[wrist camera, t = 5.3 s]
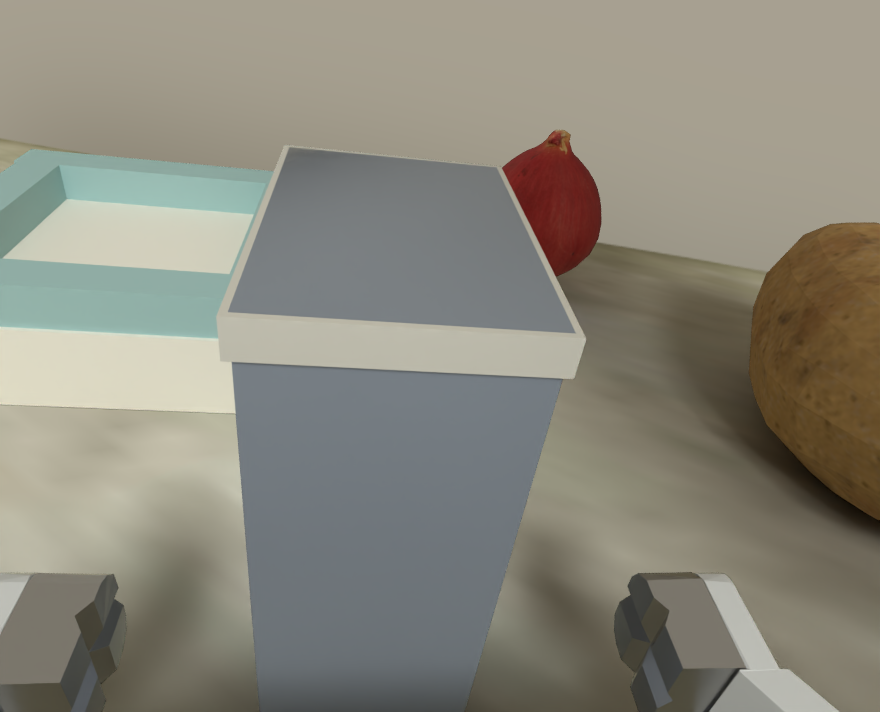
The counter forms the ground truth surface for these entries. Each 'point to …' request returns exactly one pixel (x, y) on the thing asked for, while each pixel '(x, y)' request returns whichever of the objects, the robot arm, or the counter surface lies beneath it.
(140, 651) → the counter surface
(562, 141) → the onion
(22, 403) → the display stand
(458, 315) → the blue-grey box
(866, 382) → the potato
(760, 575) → the counter surface
